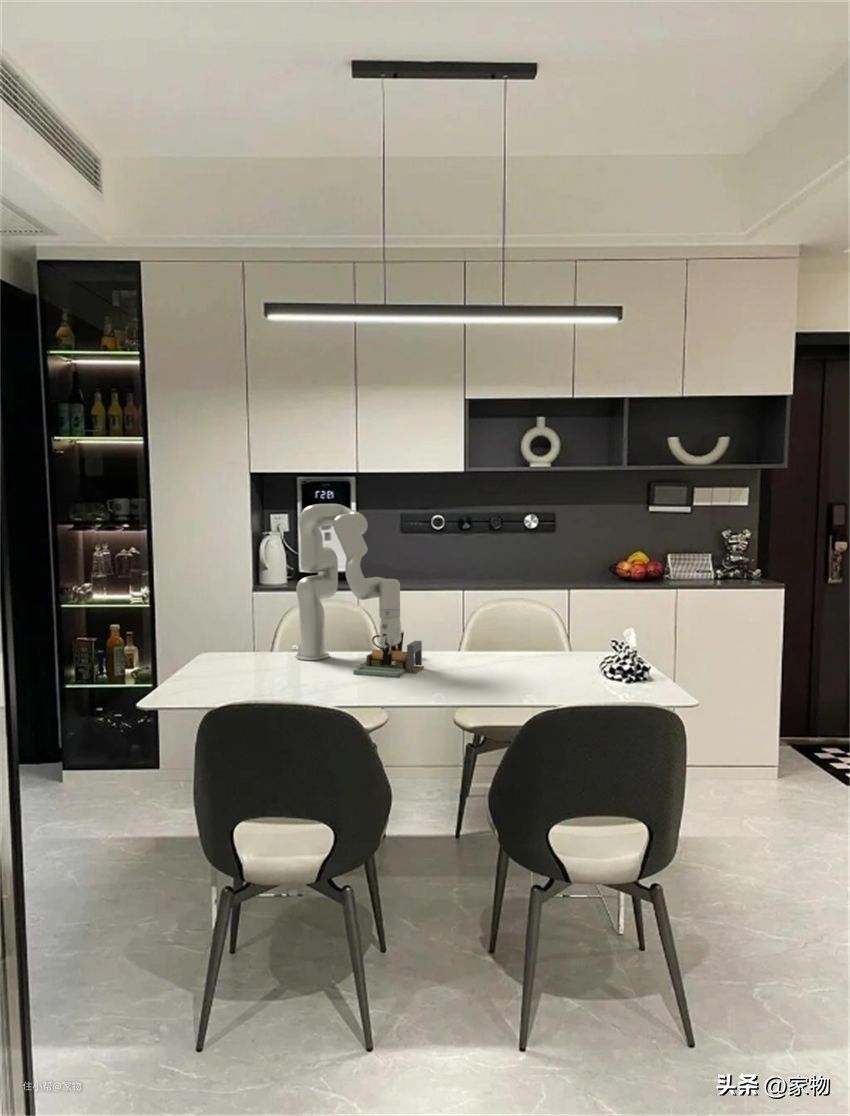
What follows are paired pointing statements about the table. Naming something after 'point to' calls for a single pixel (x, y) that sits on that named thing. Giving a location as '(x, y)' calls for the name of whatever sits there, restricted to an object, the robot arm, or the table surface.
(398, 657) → the tan rounded-end block
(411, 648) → the grey bracket
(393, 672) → the felt tray
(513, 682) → the table surface
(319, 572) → the robot arm
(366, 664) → the block
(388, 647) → the coffee mug
